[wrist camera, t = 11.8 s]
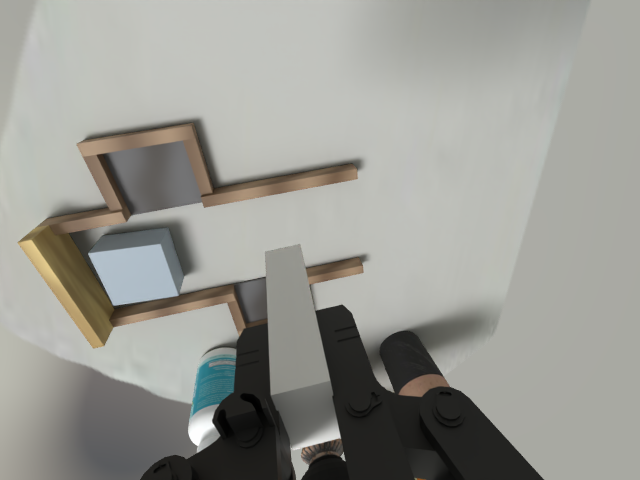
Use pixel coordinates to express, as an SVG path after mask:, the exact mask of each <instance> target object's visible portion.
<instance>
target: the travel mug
mask: <svg viewBox="0 0 640 480" xmlns="http://www.w3.org/2000/svg"><path fill="white" fill-rule="evenodd" d="M380 356H381V358H382V361H383V364H384V366H385V369H386V371H387V374H388V376H389V379H390V381H391V384H392V386H393V389H394V391H395V394H399V395H405V396H417V397H422V396H423V395H424V394H425V393H426V392H427V391H428V390H429V389H431V388H435V387H438V386H444V387H450V386H449V384H448V383H447V381H446V380H445V378H444V376H443V375H442V373H441V372H440V370H439V369H438V367H437V366H436V364H435V362H434V361H433V359H432V358H431V356H430V355H429V353H428V352H427V350H426V349H425V347H424V346H423V344H422V342H421V341H420V339H419V338H418V337H417V336H416V335H415V334H414V333H412V332H408V331H403V332H398V333H395V334H393V335H391V336H389V337H388V338H387V339H385V340H384V342H383V343H382V344H381V347H380Z"/></svg>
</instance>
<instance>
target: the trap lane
mask: <svg viewBox="0 0 640 480" xmlns="http://www.w3.org/2000/svg"><path fill="white" fill-rule="evenodd" d="M77 146H78V148H79V150H80V152H81V154H82V156H83V158H84V160H85V162H86V164H87V166H88V168H89V170H90V172H91V174H92V176H93V178H94V180H95V182H96V184H97V186H98V188H99V190H100V192H101V194H102V196H103V198H104V200H105V202H106V204H107V205H108V207H109V208H103V209H98V210H92V211H87V212H81V213H76V214H70V215H65V216H59V217H54V218H48V219H46V220H44V221H43V222H42V223H41V224H40V225H38V226H37V227H36V228H35V229H33V230H32V231H31V232H30V233H29V234H27V235H26V236H25V237H24V238H22V239H21V240H20V241H19V242H18V244H19V245H20V247H21V248H22V250H23V251H24V252H25V254H26V255H27V257H28V258H29V259H30V261H31V262H32V264H33V265H34V266H35V268H36V269H37V271H38V272H39V273H40V275H41V276H42V278H43V279H44V280H45V282H46V283H47V285H48V286H49V287H50V289H51V290H52V292H53V293H54V294H55V296H56V297H57V299H58V300H59V301H60V303H61V304H62V306H63V307H64V308H65V310H66V311H67V313H68V314H69V315H70V317H71V318H72V320H73V321H74V322H75V324H76V325H77V327H78V328H79V329H80V331H81V332H82V334H83V335H84V336H85V338H86V339H87V341H88V342H89V343H90V345H91V346H92V348H98V347H102V346H104V345H105V343H106V341H107V339H108V337H109V335H110V333H111V331H112V329H113V327H117V326H122V325H126V324H131V323H135V322H140V321H144V320H149V319H154V318H158V317H163V316H167V315H172V314H177V313H181V312H186V311H190V310H195V309H200V308H204V307H209V306H213V305H218V304H223V303H228V306H229V309H230V312H231V315H232V317H233V320H234V323H235V326H236V329H237V331H238V334H239V337H240V335H241V333H242V331H243V329H244V328H249V327H253V326H257V325H261V324H266V323H268V313H267V287H266V277H264V278H259V279H254V280H249V281H245V282H240V283H235V284H231V285H226V286H221V287H217V288H212V289H207V290H202V291H198V292H193V293H188V294H184V295H179V296H174V297H169V298H165V299H160V300H155V301H151V302H146V303H141V304H136V305H132V306H127V307H122V308H118V309H114V307H113V305H112V304H111V302H110V301H109V299H108V297H107V296H106V294H105V292H104V291H103V289H102V287H101V286H100V284H99V282H98V281H97V279H96V277H95V276H94V274H93V272H92V271H91V269H90V268H89V266H88V264H87V263H86V261H85V259H84V258H83V256H82V254H81V253H80V251H79V249H78V248H77V246H76V244H75V243H74V241H73V240H72V238H71V236H70V235H69V233H71V232H76V231H82V230H87V229H92V228H98V227H103V226H109V225H114V224H119V223H125V222H127V221H128V219H129V218H130V216H131V215H135V214H141V213H146V212H152V211H157V210H162V209H168V208H173V207H179V206H184V205H189V204H195V203H200V202H202V203H203V206H204V208H205V207H210V206H216V205H221V204H227V203H232V202H237V201H243V200H248V199H253V198H259V197H264V196H269V195H275V194H280V193H286V192H291V191H296V190H302V189H307V188H312V187H318V186H323V185H328V184H334V183H339V182H345V181H350V180H355V179H358V177H357V168H356V167H355V166H354V165H353V164H346V165H341V166H335V167H330V168H324V169H319V170H313V171H308V172H302V173H297V174H291V175H286V176H280V177H275V178H269V179H263V180H258V181H252V182H247V183H241V184H236V185H230V186H225V187H219V188H214V187H213V184H212V181H211V178H210V174H209V171H208V168H207V165H206V161H205V158H204V155H203V152H202V148H201V145H200V142H199V139H198V136H197V132H196V129H195V126H194V123H189V124H183V125H176V126H170V127H164V128H158V129H151V130H145V131H139V132H132V133H126V134H120V135H114V136H107V137H101V138H95V139H88V140H83V141H81V142H79V143H77ZM306 272H307V277H308V282H309V285H310V284H314V283H319V282H324V281H328V280H333V279H337V278H342V277H346V276H351V275H356V274H360V273H363V265H362V263H361V261H360V259H359V257H358V258H353V259H348V260H344V261H339V262H334V263H330V264H325V265H320V266H315V267H311V268H306Z"/></svg>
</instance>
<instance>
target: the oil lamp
mask: <svg viewBox="0 0 640 480" xmlns="http://www.w3.org/2000/svg"><path fill="white" fill-rule="evenodd" d="M343 452H344V451H343V446H342V441H341V439H340V438H338V439H335V440H331V441H327V442H323V443H319V444H315V445H312V446H308V447H304V448H303V449H302V453H301V458H302V460H303V461H304V462H305V463H306V464H308V465H309V469H308V470H307V472H306V473H305V475H304V476H303V477H302V479H301V480H350V479H349V474H348V470H347V465H346V462H345V461H344V460H342V458H341V457H340V456H341V455H342V454H343Z"/></svg>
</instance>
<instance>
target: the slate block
mask: <svg viewBox="0 0 640 480" xmlns="http://www.w3.org/2000/svg"><path fill="white" fill-rule="evenodd" d="M88 255H89V257H90V259H91V261H92V263H93V265H94V267H95V269H96V271H97V273H98V275H99V277H100V279H101V281H102V283H103V285H104V287H105V289H106V291H107V293H108V295H109V297H110V300H111V302H112V304H113V306H115V305H122V304H129V303H135V302H142V301H148V300H155V299H161V298H168V297H174V296H179V292H180V289H181V286H182V282H183V279H184V275H183V272H182V269H181V266H180V262H179V259H178V256H177V253H176V250H175V247H174V244H173V241H172V238H171V235H170V232H169V229H168V228H160V229H152V230H144V231H136V232H128V233H120V234H112V235H104V236H102V237H101V238H100V239H99V240H98V242H97V243H96V244H95V245H94V246H93V248H92V249H91V250H90V251H89V253H88Z"/></svg>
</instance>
